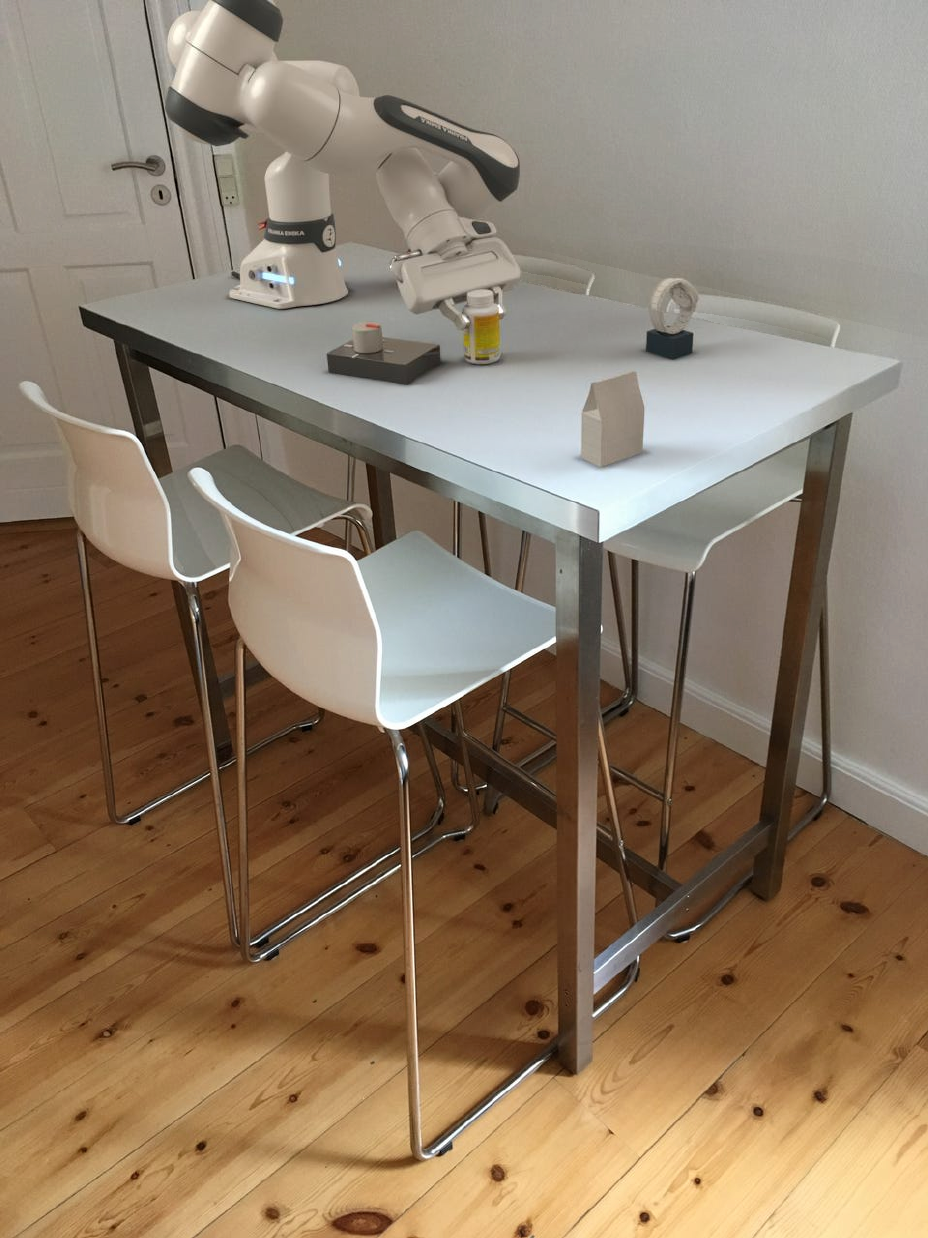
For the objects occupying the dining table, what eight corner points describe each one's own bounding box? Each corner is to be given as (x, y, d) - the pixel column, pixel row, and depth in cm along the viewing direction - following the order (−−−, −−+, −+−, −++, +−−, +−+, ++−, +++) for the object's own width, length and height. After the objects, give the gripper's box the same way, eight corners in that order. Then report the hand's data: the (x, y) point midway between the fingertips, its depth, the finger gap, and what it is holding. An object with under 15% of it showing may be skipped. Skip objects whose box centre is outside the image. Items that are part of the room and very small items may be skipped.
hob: (327, 372, 165) (325, 352, 163) (364, 352, 172) (362, 332, 170) (405, 385, 159) (404, 364, 157) (441, 363, 166) (440, 343, 164)
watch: (700, 349, 167) (706, 277, 161) (664, 362, 162) (668, 287, 157) (673, 341, 170) (677, 270, 165) (637, 353, 166) (640, 280, 160)
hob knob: (348, 351, 163) (345, 326, 161) (364, 342, 166) (362, 318, 164) (372, 354, 161) (370, 329, 159) (388, 346, 165) (386, 321, 163)
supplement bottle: (507, 357, 167) (506, 290, 162) (486, 367, 164) (484, 299, 158) (478, 351, 170) (475, 285, 165) (456, 361, 166) (453, 294, 161)
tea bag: (642, 453, 134) (646, 374, 129) (600, 467, 131) (602, 387, 126) (622, 443, 137) (625, 367, 132) (580, 457, 134) (582, 379, 129)
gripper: (392, 244, 157) (436, 325, 155) (501, 220, 167) (543, 296, 166) (377, 270, 162) (420, 349, 161) (483, 245, 173) (524, 319, 171)
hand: (483, 322), depth 163 cm, fingers closed on supplement bottle, 5 cm apart
